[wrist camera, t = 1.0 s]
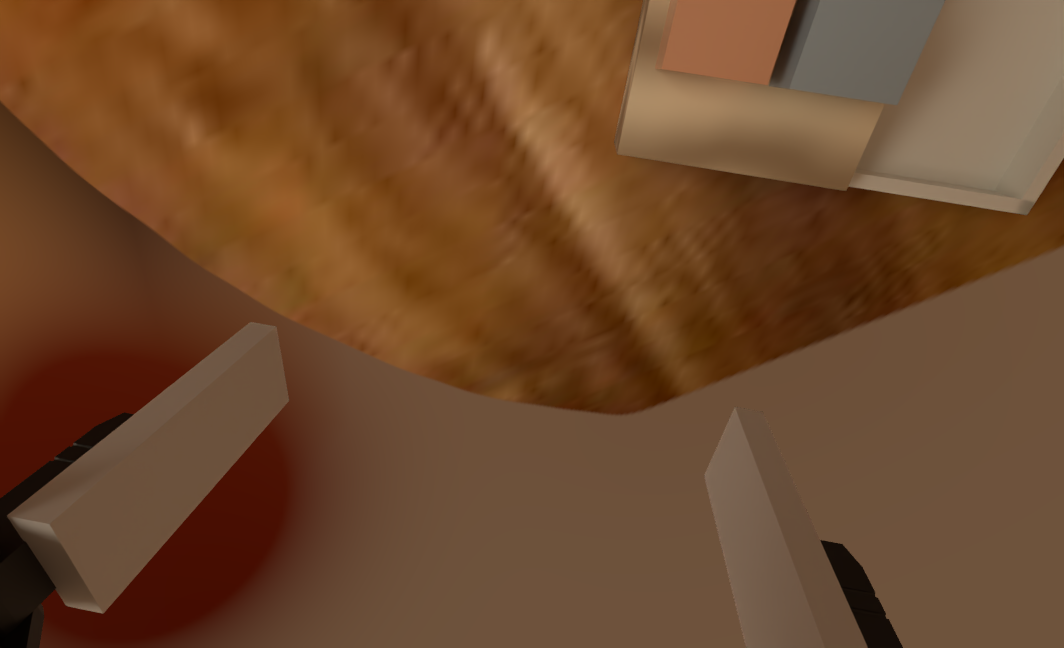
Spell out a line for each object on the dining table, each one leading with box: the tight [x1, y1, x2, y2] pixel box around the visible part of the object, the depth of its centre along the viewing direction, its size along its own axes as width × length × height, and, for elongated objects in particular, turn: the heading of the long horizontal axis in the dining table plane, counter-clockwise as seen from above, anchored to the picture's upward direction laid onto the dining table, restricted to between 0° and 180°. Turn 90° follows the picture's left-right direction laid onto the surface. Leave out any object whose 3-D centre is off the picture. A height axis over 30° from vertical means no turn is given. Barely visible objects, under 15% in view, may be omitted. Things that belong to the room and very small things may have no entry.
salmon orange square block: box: [655, 0, 796, 85], centre depth 23 cm, size 5×5×3 cm
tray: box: [849, 0, 1064, 215], centre depth 27 cm, size 14×12×3 cm
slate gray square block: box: [769, 0, 945, 105], centre depth 23 cm, size 5×5×3 cm
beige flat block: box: [614, 0, 885, 191], centre depth 26 cm, size 14×13×5 cm
